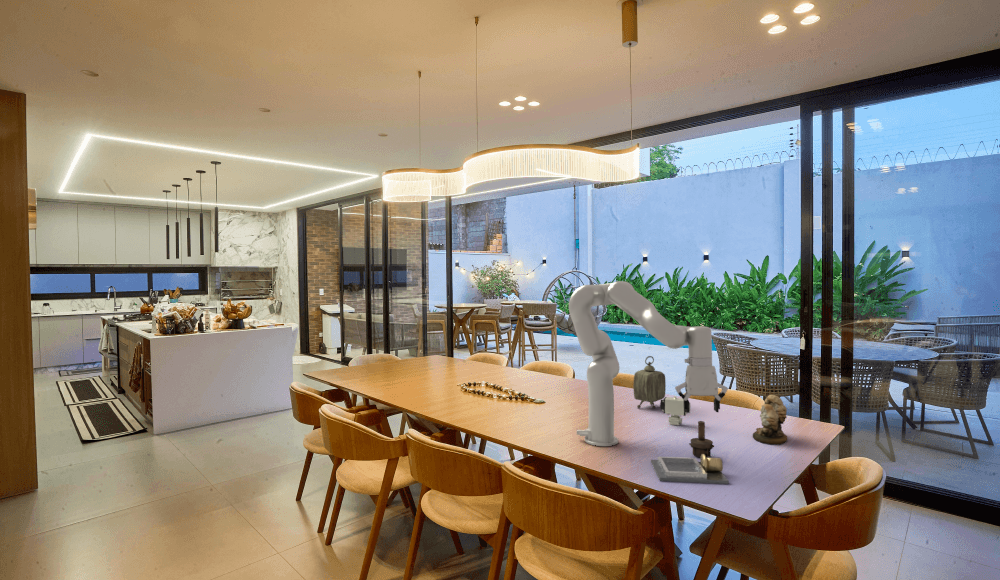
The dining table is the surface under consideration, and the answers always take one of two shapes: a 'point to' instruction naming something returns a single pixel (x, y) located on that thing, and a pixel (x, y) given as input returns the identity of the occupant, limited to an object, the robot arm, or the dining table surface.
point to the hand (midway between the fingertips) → (701, 411)
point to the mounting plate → (690, 470)
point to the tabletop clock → (649, 384)
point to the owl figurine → (772, 422)
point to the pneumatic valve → (674, 409)
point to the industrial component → (701, 442)
